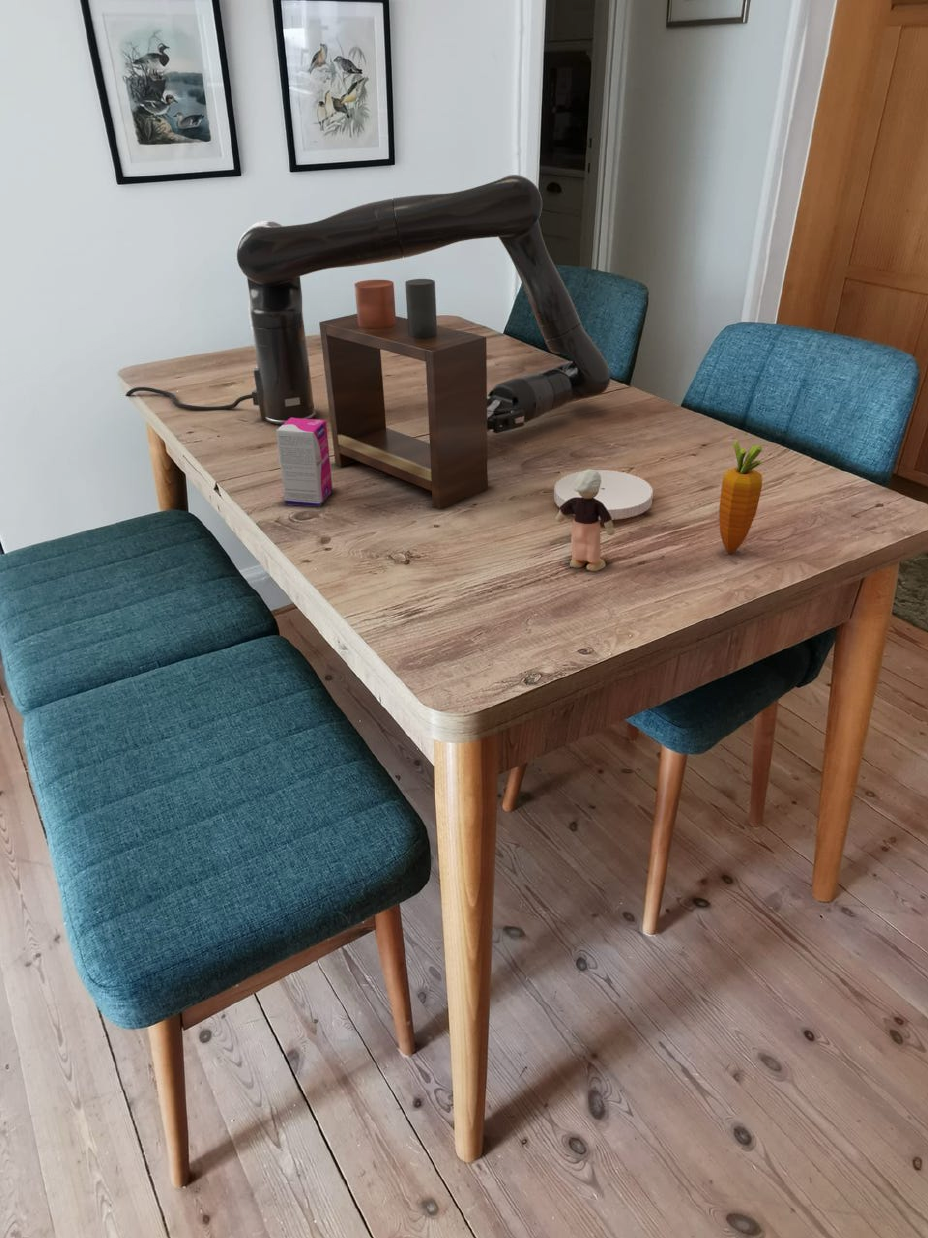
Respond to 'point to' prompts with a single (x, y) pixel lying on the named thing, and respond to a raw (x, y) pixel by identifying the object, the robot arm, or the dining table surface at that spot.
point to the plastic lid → (611, 493)
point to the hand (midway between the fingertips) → (451, 424)
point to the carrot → (739, 498)
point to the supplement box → (304, 461)
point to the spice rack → (452, 391)
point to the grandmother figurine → (587, 521)
